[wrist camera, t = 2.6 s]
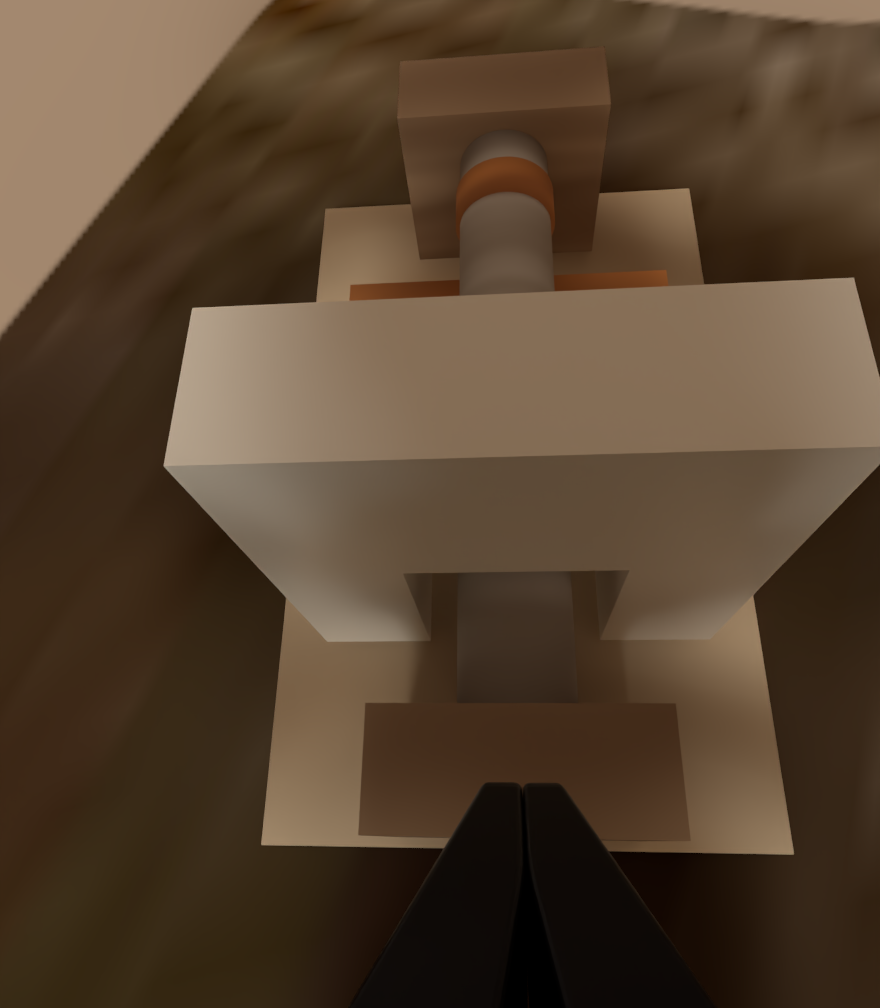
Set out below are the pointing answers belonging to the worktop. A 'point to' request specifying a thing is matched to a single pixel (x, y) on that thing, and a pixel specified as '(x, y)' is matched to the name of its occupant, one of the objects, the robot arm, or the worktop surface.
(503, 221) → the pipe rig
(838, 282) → the sleeve
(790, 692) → the worktop surface
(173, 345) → the worktop surface
